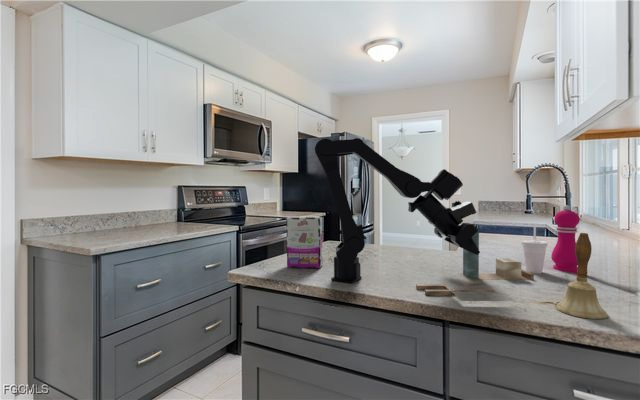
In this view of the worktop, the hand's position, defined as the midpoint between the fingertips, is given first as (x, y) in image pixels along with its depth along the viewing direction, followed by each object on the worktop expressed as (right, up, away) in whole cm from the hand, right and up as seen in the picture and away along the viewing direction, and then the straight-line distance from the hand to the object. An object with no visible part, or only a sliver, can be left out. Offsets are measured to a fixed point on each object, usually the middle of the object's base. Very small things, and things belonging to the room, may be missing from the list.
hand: (475, 252), depth 91 cm
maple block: (+9, -6, 0) cm, 11 cm away
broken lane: (-10, -8, -10) cm, 16 cm away
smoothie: (+19, -7, +5) cm, 21 cm away
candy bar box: (-48, -8, +18) cm, 51 cm away
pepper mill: (+30, -7, +8) cm, 32 cm away
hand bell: (+10, -8, -24) cm, 27 cm away
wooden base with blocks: (+5, -8, 0) cm, 9 cm away
